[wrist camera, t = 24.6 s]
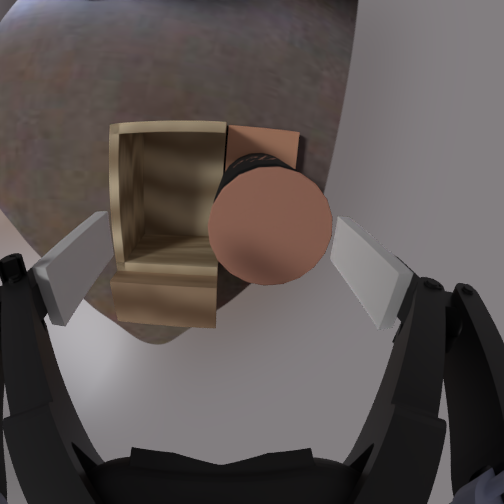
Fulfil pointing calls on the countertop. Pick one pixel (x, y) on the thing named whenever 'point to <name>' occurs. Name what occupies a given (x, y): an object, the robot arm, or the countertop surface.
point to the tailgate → (262, 143)
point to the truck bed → (165, 220)
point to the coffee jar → (268, 221)
